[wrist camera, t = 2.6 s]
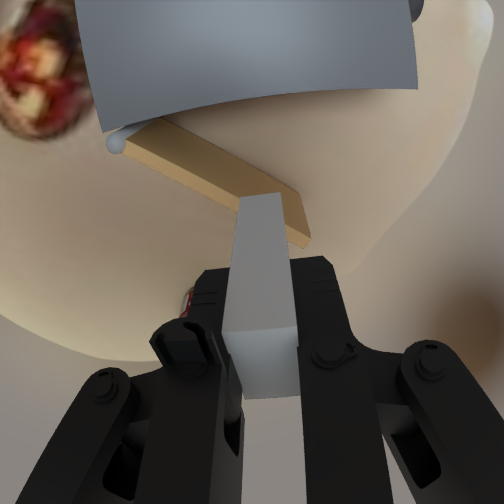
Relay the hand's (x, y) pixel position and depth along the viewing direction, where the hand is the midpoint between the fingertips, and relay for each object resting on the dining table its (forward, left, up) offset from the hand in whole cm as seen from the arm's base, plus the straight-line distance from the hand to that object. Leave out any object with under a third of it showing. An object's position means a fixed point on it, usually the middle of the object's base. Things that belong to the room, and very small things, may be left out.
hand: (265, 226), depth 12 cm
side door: (-4, -2, -17) cm, 17 cm away
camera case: (+2, +10, -17) cm, 20 cm away
